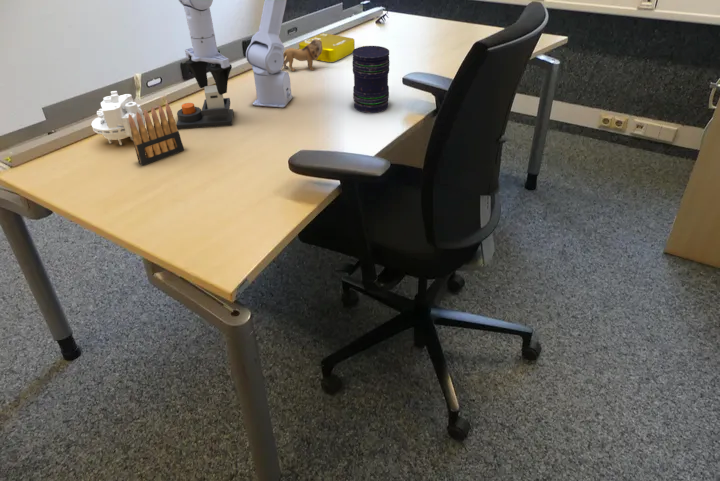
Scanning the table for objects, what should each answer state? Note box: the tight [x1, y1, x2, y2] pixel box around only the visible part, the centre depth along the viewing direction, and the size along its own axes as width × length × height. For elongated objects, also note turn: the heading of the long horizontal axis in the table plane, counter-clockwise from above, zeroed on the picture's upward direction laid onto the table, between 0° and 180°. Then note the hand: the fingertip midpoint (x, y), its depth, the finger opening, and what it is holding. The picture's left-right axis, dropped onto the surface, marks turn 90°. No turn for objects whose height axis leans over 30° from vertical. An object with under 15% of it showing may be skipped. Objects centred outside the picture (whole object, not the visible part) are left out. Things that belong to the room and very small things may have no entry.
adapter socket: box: [201, 97, 231, 116], centre depth 135 cm, size 7×7×2 cm
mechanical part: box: [91, 90, 146, 146], centre depth 125 cm, size 11×12×12 cm
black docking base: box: [176, 106, 235, 130], centre depth 136 cm, size 14×8×3 cm, turn 98°
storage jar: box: [351, 45, 390, 114], centre depth 139 cm, size 10×10×15 cm
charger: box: [204, 84, 225, 109], centre depth 134 cm, size 4×5×6 cm
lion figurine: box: [281, 39, 322, 72], centre depth 165 cm, size 15×5×9 cm, turn 102°
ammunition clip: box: [128, 102, 185, 166], centre depth 118 cm, size 11×2×12 cm, turn 133°
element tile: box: [298, 32, 356, 63], centre depth 178 cm, size 15×15×5 cm
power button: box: [181, 102, 196, 114], centre depth 135 cm, size 3×3×2 cm
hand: (213, 90), depth 132 cm, fingers open, 7 cm apart
